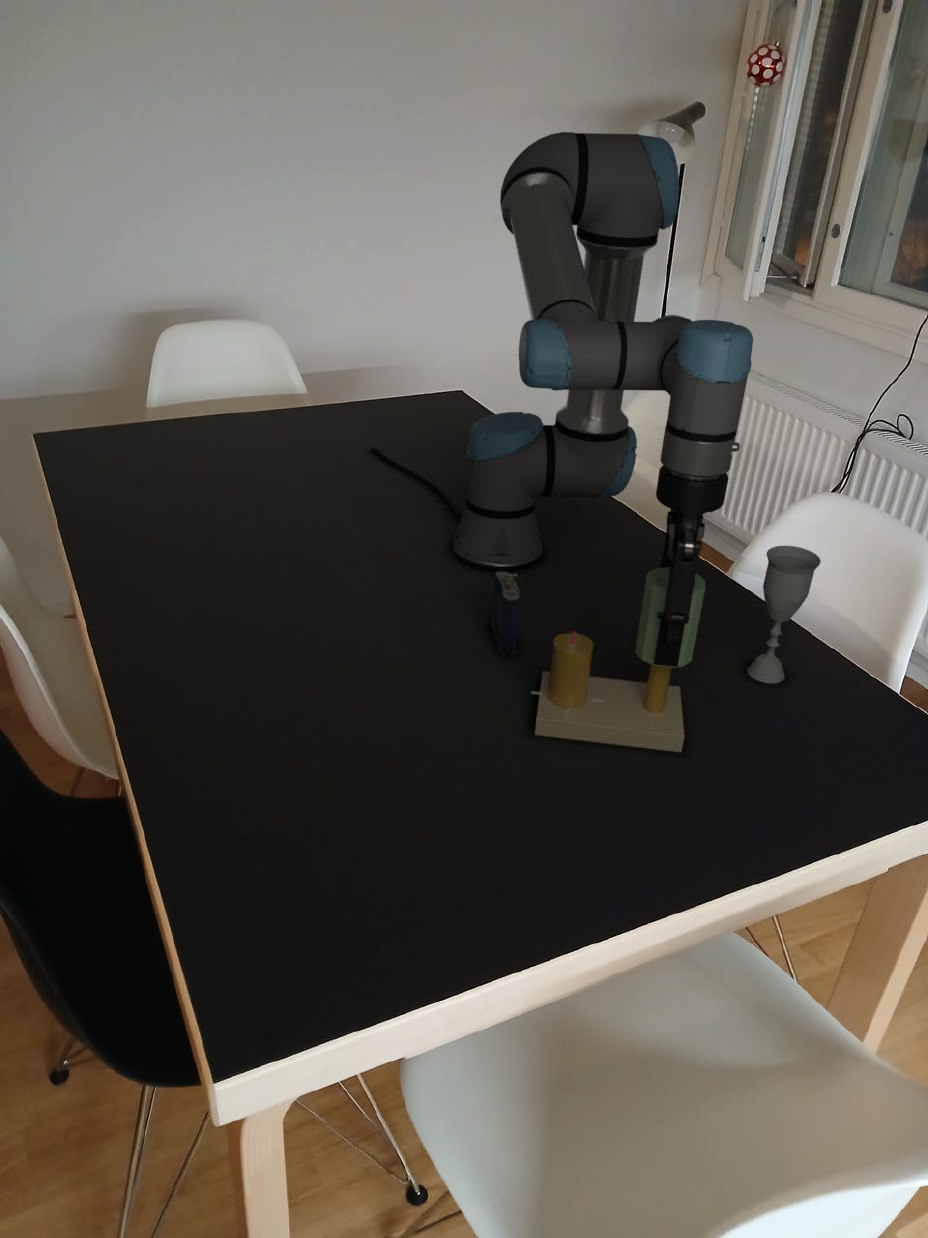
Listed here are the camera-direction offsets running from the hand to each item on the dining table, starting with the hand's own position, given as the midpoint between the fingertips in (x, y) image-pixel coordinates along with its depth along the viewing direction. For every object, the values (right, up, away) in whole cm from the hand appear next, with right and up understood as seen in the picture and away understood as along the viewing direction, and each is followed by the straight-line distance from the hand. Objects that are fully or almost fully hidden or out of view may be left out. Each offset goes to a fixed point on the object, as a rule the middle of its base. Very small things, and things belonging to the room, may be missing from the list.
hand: (664, 647), depth 117 cm
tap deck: (-6, -9, +6) cm, 13 cm away
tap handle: (-11, -6, +6) cm, 14 cm away
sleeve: (0, -1, 0) cm, 1 cm away
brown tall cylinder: (0, -10, +6) cm, 11 cm away
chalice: (+18, -4, +17) cm, 25 cm away
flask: (-18, 0, +22) cm, 29 cm away
